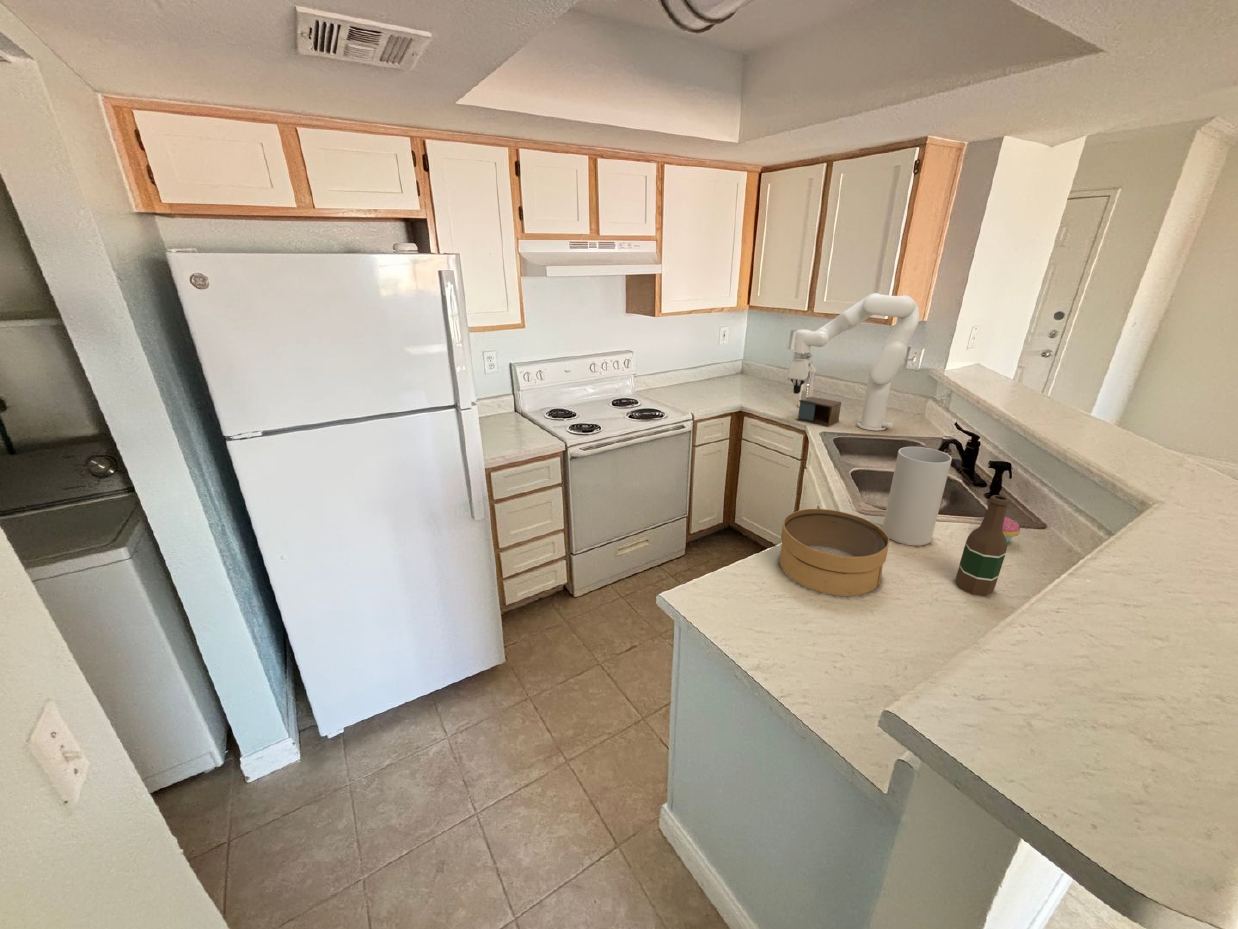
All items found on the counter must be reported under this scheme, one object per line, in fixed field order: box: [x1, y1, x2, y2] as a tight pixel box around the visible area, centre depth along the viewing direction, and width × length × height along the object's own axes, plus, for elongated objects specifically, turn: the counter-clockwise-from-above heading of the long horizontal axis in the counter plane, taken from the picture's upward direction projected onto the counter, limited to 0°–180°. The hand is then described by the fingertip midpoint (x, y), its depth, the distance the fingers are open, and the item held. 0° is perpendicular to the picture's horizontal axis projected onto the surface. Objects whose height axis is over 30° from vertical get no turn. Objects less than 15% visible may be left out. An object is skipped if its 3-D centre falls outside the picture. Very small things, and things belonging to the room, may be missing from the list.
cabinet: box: [796, 396, 842, 428], centre depth 248 cm, size 12×16×10 cm
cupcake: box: [1003, 516, 1021, 543], centre depth 139 cm, size 9×8×12 cm
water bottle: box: [797, 360, 817, 408], centre depth 269 cm, size 7×7×25 cm
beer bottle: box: [955, 494, 1011, 597], centre depth 117 cm, size 8×8×24 cm
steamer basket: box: [779, 508, 890, 597], centre depth 127 cm, size 25×25×11 cm
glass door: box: [797, 391, 816, 421], centre depth 247 cm, size 1×8×14 cm, turn 44°
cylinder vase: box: [881, 446, 953, 547], centre depth 140 cm, size 12×12×25 cm
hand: (796, 393), depth 249 cm, fingers closed
